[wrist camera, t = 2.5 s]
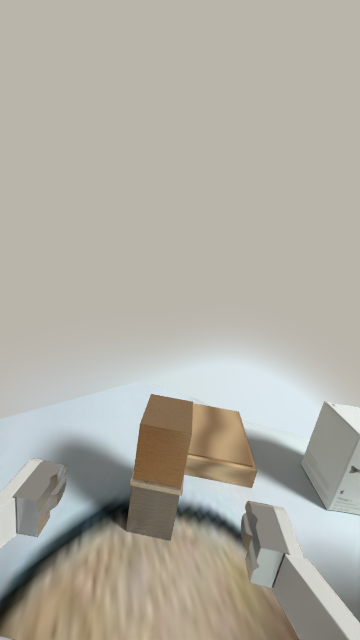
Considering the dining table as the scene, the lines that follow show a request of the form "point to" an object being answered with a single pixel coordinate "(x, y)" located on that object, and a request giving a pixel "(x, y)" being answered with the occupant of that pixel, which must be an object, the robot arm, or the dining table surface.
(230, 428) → the oak plinth
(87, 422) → the dining table surface
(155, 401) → the block
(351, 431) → the supplement box
